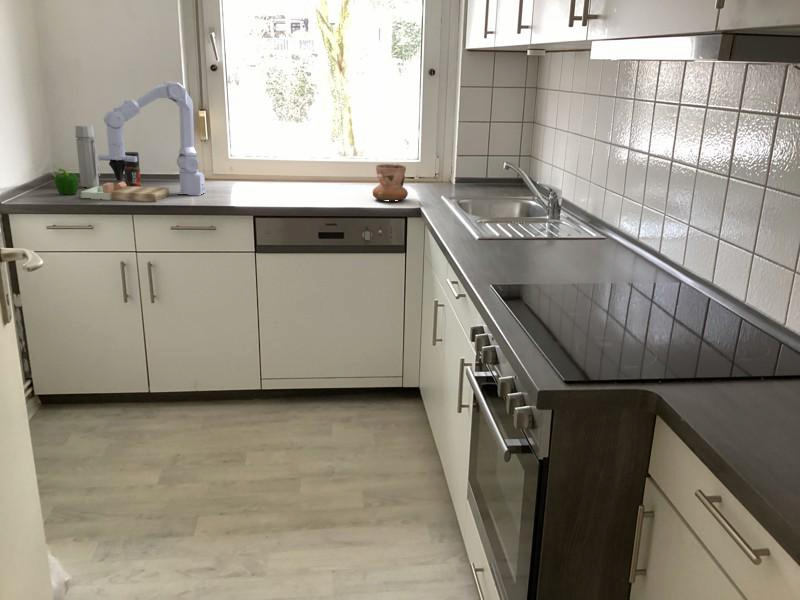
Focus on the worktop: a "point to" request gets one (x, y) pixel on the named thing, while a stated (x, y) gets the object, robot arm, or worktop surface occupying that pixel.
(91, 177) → the water bottle
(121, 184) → the tile
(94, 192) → the tray
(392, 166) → the brown clay vase
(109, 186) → the tile
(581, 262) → the worktop surface
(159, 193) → the board
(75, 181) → the bell pepper
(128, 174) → the deodorant
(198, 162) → the robot arm
